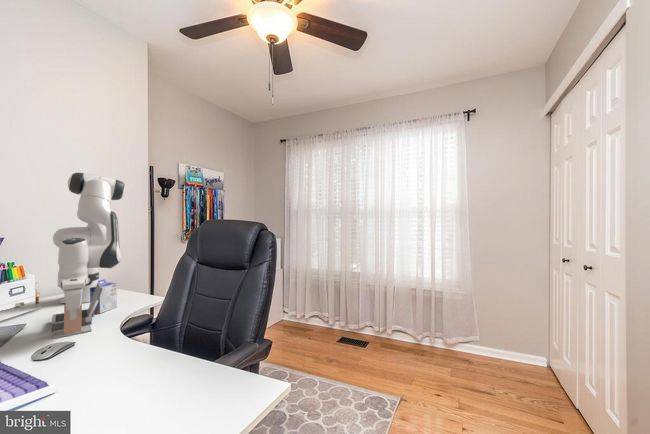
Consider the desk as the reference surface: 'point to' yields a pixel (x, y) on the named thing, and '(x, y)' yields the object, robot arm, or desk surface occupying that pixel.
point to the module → (72, 321)
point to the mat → (61, 333)
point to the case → (85, 313)
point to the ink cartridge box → (105, 297)
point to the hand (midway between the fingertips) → (72, 315)
